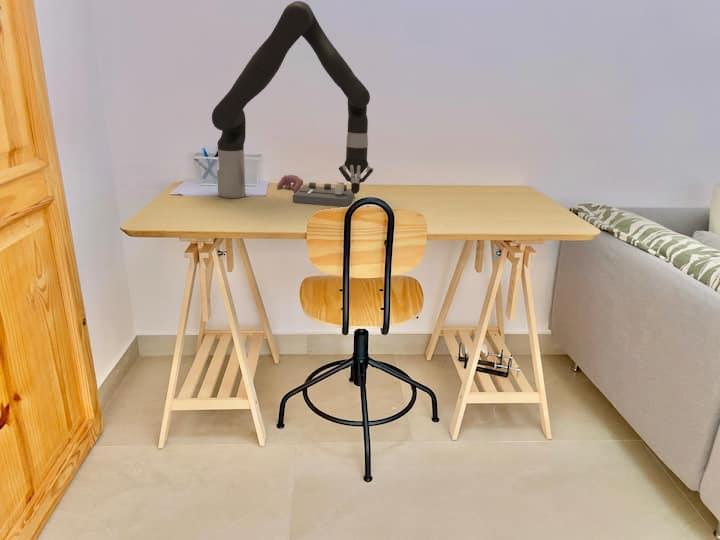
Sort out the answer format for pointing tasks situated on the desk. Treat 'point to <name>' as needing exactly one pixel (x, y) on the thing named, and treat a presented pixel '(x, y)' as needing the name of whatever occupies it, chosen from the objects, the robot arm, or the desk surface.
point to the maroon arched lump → (288, 180)
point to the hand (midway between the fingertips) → (355, 193)
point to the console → (322, 195)
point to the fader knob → (339, 188)
